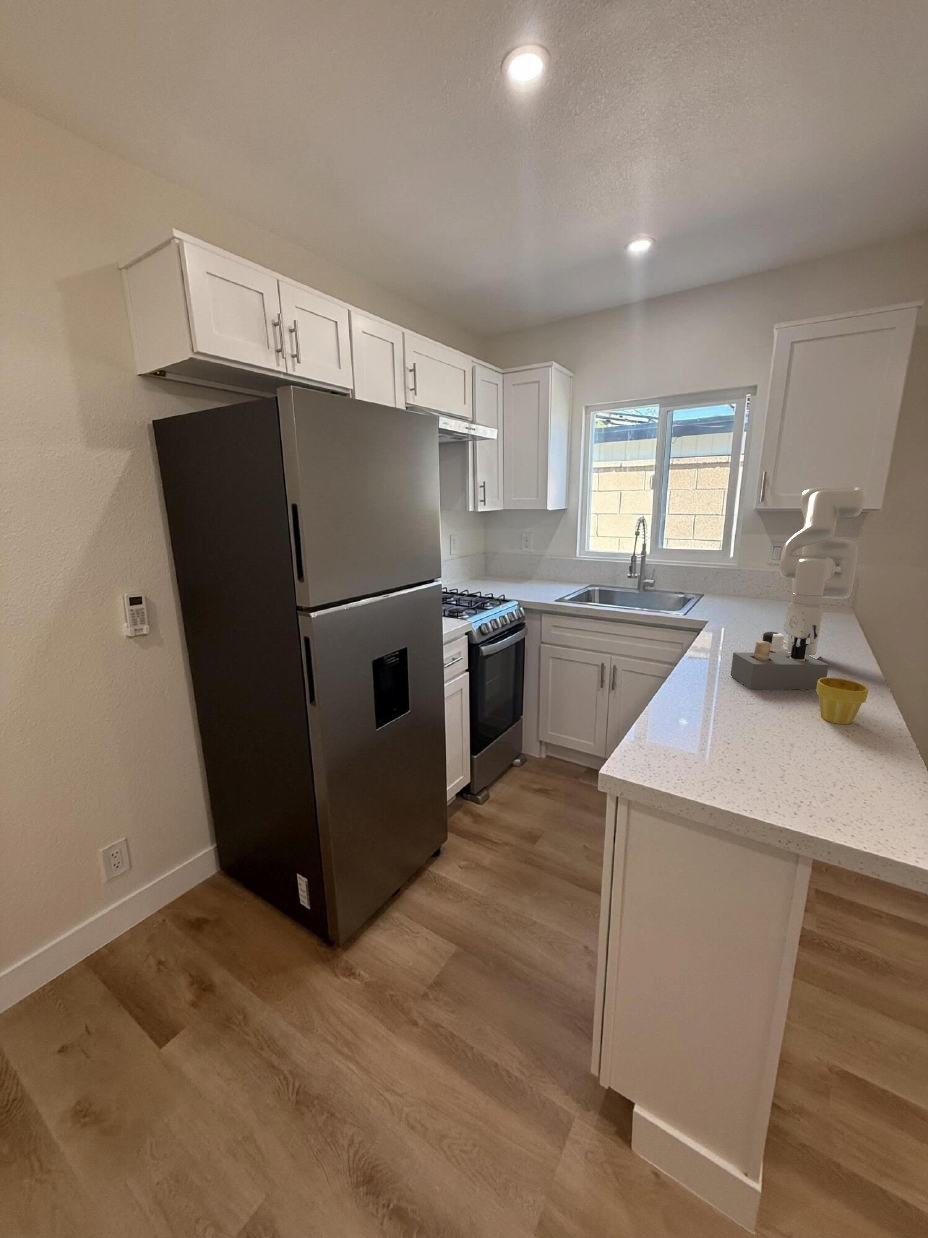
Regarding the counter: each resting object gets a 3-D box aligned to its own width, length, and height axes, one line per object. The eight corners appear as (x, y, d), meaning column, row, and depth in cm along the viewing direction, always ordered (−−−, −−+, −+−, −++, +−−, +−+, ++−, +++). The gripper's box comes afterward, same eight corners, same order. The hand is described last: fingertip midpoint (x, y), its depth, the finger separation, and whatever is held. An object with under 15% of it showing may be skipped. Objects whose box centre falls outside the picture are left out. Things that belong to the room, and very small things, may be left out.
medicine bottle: (752, 665, 172) (757, 631, 169) (765, 662, 175) (770, 629, 172) (772, 671, 166) (777, 636, 163) (786, 668, 169) (791, 634, 166)
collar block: (730, 676, 161) (733, 652, 159) (799, 676, 160) (803, 653, 159) (750, 689, 149) (753, 664, 147) (824, 690, 149) (828, 664, 147)
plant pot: (837, 729, 123) (844, 692, 120) (802, 713, 132) (808, 678, 130) (872, 726, 125) (879, 689, 122) (834, 709, 134) (840, 675, 132)
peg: (750, 662, 156) (753, 640, 154) (763, 662, 156) (766, 640, 154) (757, 666, 152) (760, 644, 150) (770, 666, 152) (773, 644, 150)
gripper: (779, 595, 156) (771, 651, 160) (810, 604, 141) (800, 665, 146) (803, 595, 156) (794, 651, 160) (836, 604, 141) (826, 666, 145)
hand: (797, 658), depth 153 cm, fingers closed
